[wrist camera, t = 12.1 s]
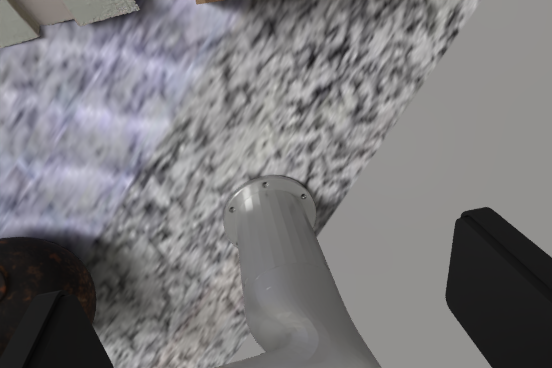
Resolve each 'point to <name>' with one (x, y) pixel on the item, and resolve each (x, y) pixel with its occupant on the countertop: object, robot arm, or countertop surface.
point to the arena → (206, 1)
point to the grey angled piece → (53, 15)
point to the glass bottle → (38, 279)
